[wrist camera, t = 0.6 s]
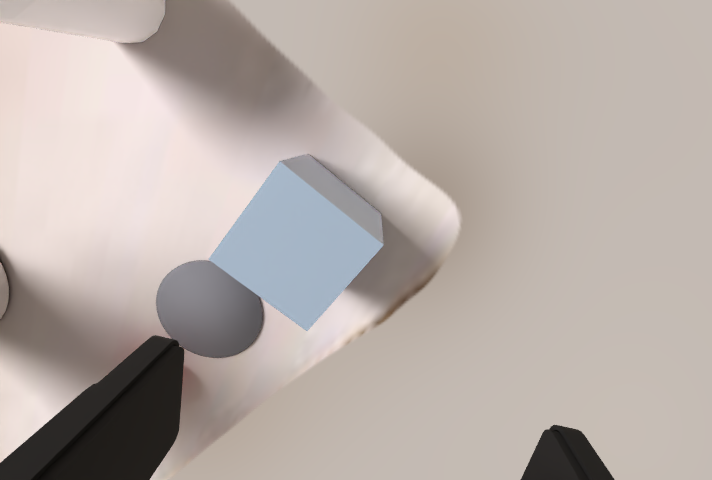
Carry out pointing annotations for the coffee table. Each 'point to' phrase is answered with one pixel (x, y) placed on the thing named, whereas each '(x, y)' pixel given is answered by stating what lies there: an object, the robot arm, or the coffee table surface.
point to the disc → (208, 310)
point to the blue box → (301, 240)
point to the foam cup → (88, 17)
